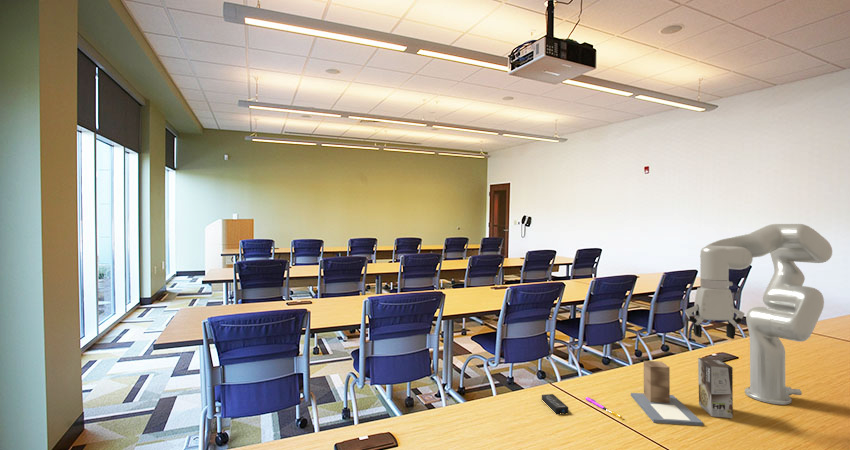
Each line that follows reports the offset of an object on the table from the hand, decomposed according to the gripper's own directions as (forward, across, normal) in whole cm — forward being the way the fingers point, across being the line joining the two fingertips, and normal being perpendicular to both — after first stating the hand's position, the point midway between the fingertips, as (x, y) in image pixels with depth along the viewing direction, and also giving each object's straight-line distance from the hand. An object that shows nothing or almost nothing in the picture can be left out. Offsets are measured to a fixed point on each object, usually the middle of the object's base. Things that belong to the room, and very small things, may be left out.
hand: (714, 337), depth 132 cm
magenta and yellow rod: (+25, +34, +3) cm, 43 cm away
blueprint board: (+24, +15, +1) cm, 29 cm away
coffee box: (+25, -1, 0) cm, 25 cm away
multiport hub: (+26, +51, +3) cm, 57 cm away
